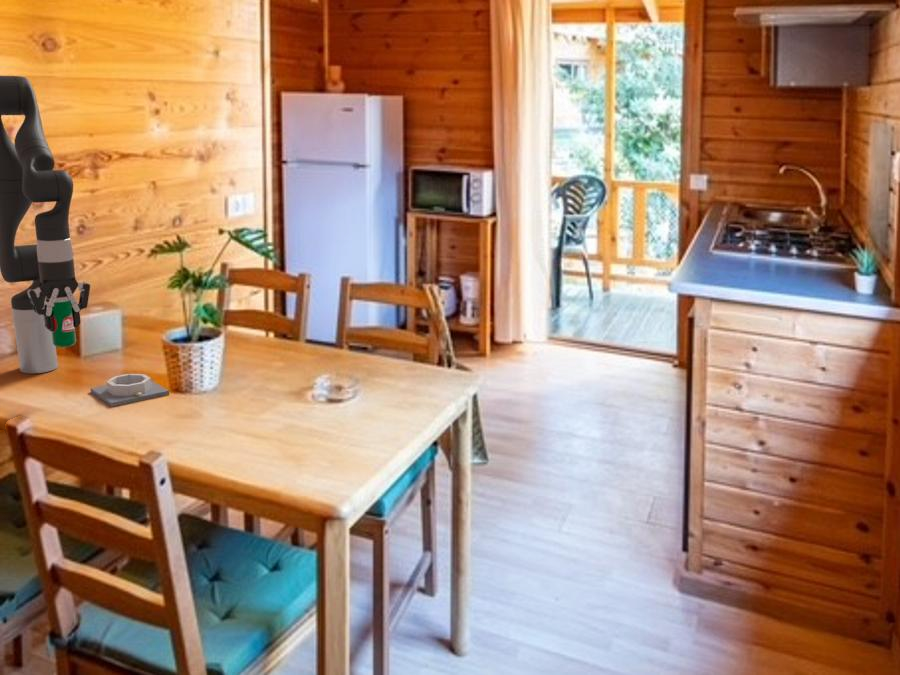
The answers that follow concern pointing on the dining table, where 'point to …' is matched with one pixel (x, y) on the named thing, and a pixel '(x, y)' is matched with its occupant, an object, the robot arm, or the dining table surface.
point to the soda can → (63, 323)
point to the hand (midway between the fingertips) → (63, 328)
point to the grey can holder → (129, 389)
